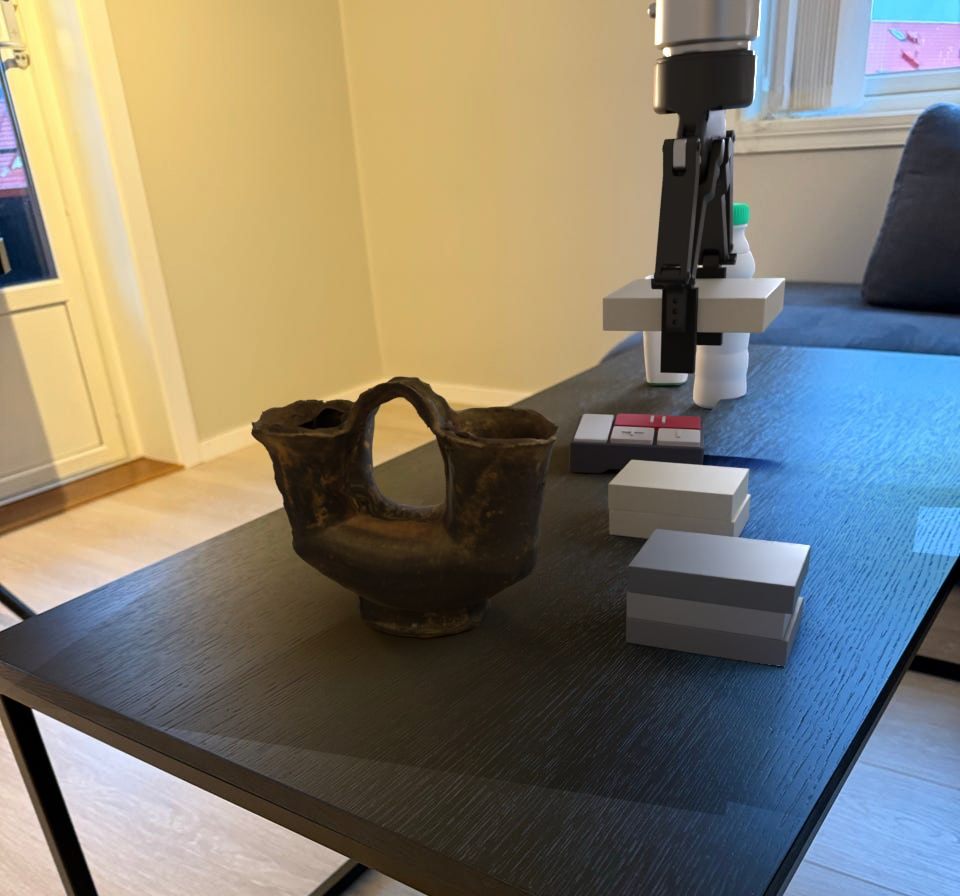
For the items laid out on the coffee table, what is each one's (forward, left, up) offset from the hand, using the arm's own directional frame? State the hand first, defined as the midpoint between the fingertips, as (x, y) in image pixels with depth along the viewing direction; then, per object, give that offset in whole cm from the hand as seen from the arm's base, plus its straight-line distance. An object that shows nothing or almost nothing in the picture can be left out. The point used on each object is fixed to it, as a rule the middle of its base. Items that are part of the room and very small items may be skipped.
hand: (692, 357), depth 80 cm
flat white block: (0, 0, +3) cm, 3 cm away
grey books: (-6, +17, -17) cm, 25 cm away
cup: (+18, -57, -17) cm, 63 cm away
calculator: (+12, -22, -17) cm, 31 cm away
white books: (+2, -3, -17) cm, 18 cm away
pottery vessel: (+18, +21, -17) cm, 32 cm away
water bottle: (+8, -47, -17) cm, 51 cm away
